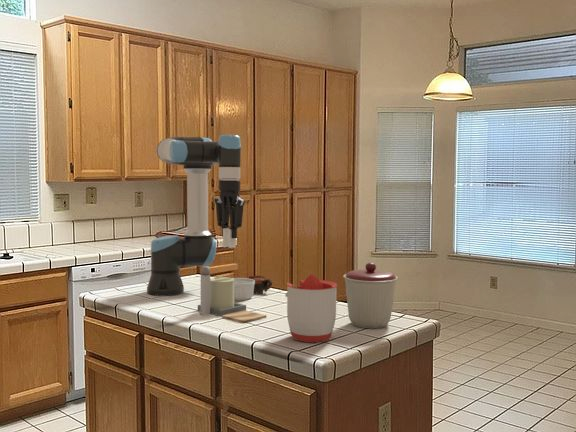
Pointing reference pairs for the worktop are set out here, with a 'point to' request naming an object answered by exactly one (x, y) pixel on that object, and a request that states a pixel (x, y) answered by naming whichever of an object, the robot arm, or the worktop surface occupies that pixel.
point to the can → (221, 293)
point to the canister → (370, 296)
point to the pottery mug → (261, 284)
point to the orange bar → (218, 269)
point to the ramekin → (243, 288)
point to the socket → (205, 301)
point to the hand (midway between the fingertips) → (229, 247)
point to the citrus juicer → (311, 309)
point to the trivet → (244, 316)
